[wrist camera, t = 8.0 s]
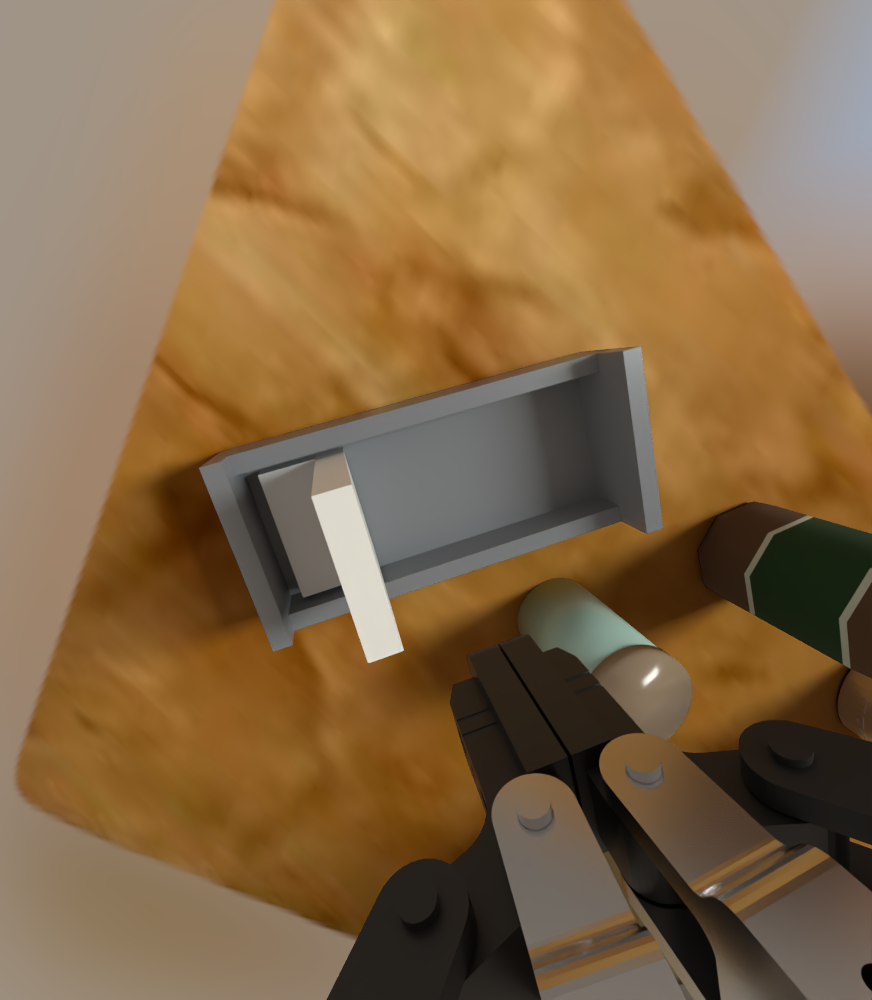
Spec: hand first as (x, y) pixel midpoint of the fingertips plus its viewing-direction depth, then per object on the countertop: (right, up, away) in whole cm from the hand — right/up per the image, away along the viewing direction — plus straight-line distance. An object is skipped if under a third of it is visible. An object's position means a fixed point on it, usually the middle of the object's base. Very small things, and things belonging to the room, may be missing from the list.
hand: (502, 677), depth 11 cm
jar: (+7, -4, +23) cm, 24 cm away
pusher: (-8, +3, +17) cm, 19 cm away
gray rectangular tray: (-2, +5, +19) cm, 20 cm away
